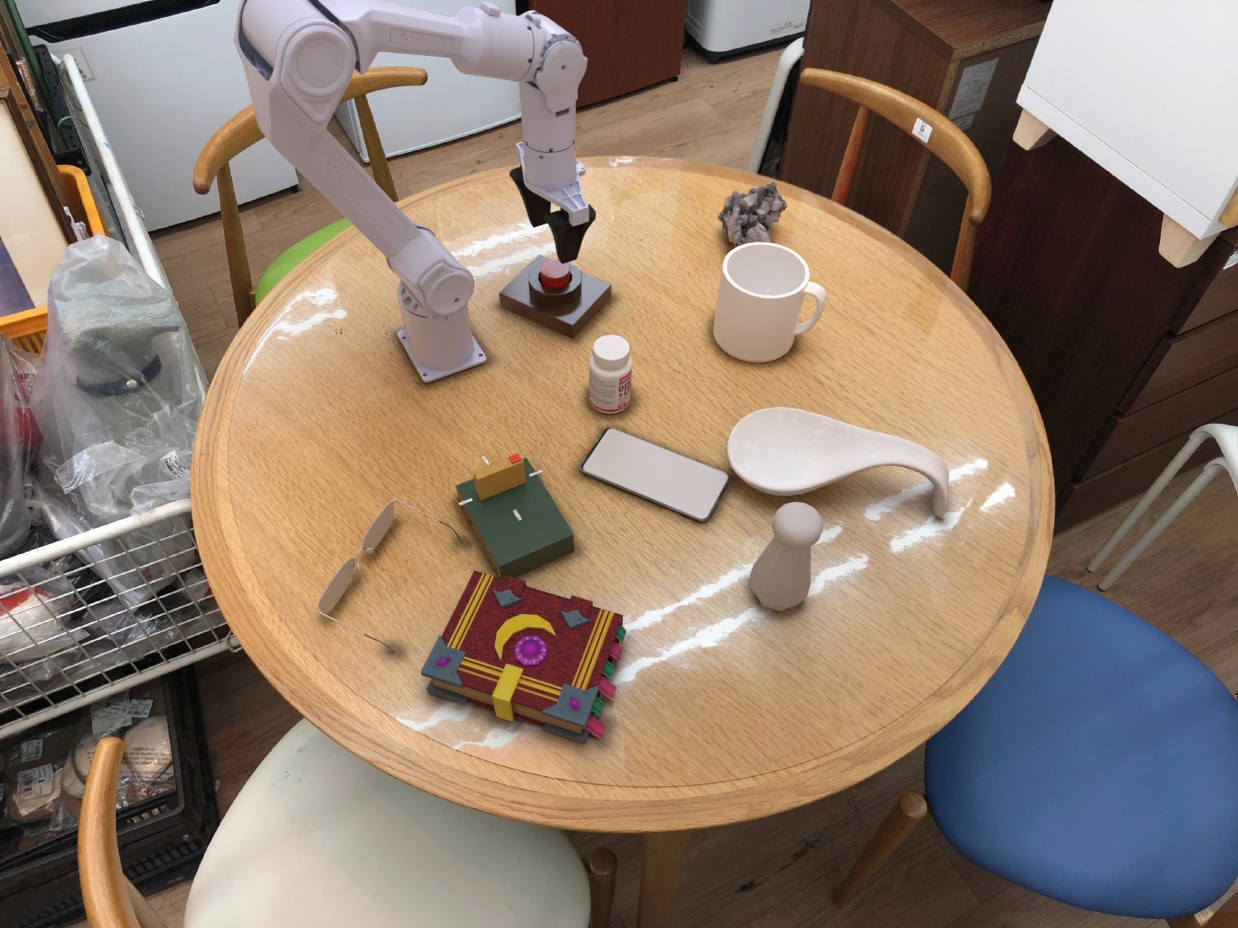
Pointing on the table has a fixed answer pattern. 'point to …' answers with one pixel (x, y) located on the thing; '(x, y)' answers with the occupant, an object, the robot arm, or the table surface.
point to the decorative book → (528, 656)
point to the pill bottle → (610, 374)
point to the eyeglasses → (347, 569)
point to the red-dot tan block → (499, 476)
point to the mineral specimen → (751, 214)
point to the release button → (554, 274)
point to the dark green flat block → (517, 524)
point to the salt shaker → (787, 557)
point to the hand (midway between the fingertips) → (553, 241)
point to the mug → (763, 301)
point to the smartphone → (656, 473)
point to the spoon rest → (821, 453)
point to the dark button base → (556, 298)
